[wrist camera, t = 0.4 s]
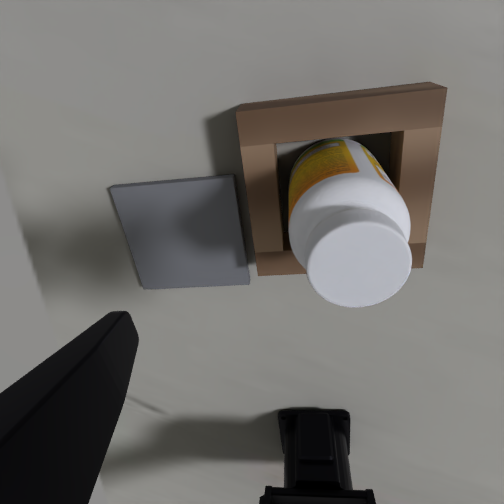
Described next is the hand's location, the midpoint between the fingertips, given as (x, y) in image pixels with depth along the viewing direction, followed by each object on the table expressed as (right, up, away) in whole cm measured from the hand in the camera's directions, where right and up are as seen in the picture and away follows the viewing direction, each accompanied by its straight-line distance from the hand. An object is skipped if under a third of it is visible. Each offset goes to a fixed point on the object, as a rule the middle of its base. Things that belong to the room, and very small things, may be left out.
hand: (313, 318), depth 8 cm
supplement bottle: (+4, +6, +14) cm, 16 cm away
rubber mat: (-6, +3, +17) cm, 18 cm away
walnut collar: (+4, +6, +14) cm, 15 cm away
